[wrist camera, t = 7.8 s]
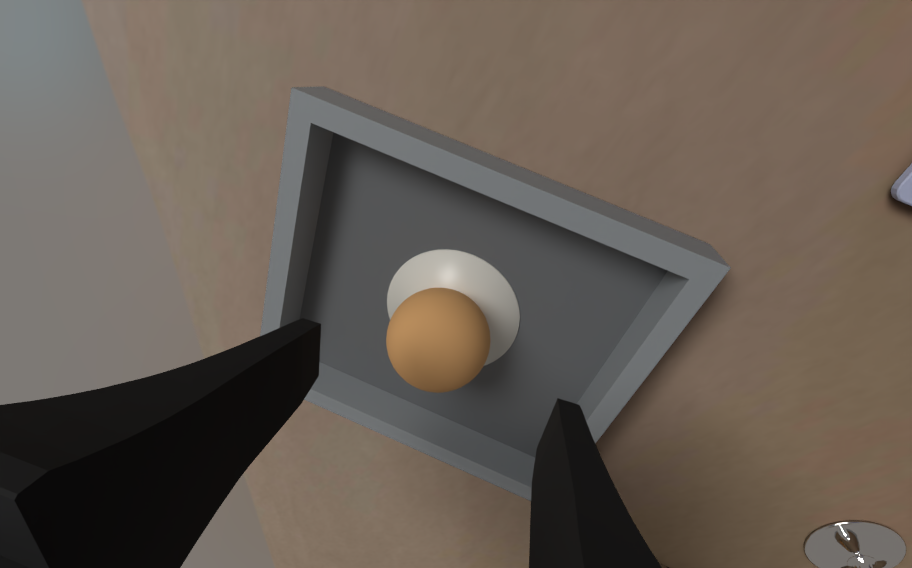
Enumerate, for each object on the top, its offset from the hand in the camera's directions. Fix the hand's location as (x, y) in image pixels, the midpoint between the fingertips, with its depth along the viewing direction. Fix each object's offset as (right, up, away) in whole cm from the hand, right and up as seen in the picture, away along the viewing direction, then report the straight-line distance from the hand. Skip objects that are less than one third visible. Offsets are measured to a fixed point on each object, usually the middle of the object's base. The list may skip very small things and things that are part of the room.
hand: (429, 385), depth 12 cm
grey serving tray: (+1, +2, +10) cm, 10 cm away
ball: (0, 0, +7) cm, 7 cm away
